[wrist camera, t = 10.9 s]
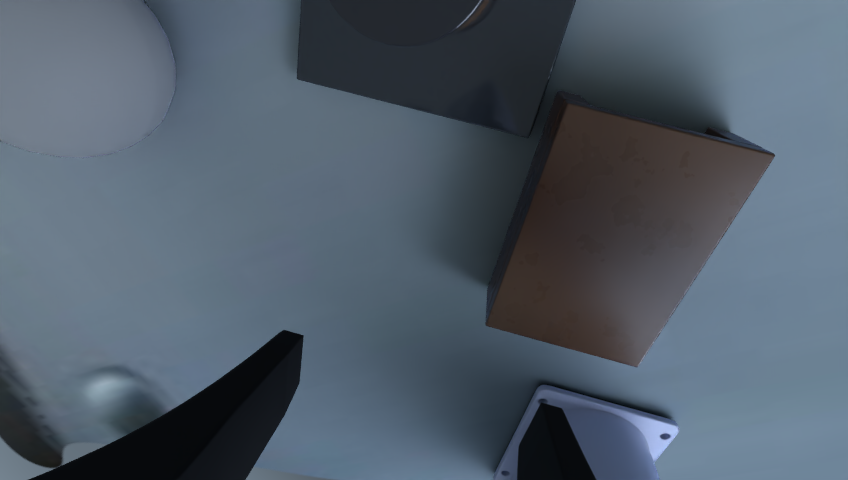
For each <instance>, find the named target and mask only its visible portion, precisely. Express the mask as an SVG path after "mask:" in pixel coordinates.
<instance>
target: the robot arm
mask: <svg viewBox="0 0 848 480" xmlns="http://www.w3.org/2000/svg"><path fill="white" fill-rule="evenodd" d="M303 337H304V335H300V334H297V333H293V332H290V331H286V330H283V331H281V332H280V333H278V334H277V335H276V336H275V337H274V338H272V339H271V340H270V341H269V342H267V343H266V344H265V345H264V346H262V347H261V348H260V349H259V350H257V351H256V352H255V353H254V354H252V355H251V356H250V357H248V358H247V359H246V360H245V361H243V362H242V363H241V364H239V365H238V366H236V367H235V368H234V369H232V370H231V371H230V372H228V373H227V374H226V375H224V376H223V377H221V378H220V379H219V380H217V381H216V382H214V383H213V384H211V385H210V386H208V387H207V388H205V389H204V390H202V391H201V392H199V393H198V394H196V395H195V396H193V397H192V398H190V399H189V400H187V401H186V402H184V403H182V404H181V405H179V406H177V407H176V408H174V409H172V410H171V411H169V412H167V413H166V414H164V415H162V416H161V417H159V418H157V419H155V420H154V421H152V422H150V423H148V424H146V425H144V426H143V427H141V428H139V429H137V430H135V431H133V432H131V433H129V434H128V435H126V436H124V437H122V438H120V439H118V440H116V441H114V442H112V443H110V444H108V445H106V446H104V447H102V448H100V449H97V450H95V451H93V452H91V453H89V454H86V455H84V456H82V457H80V458H78V459H76V460H73V461H71V462H69V463H67V464H65V465H62V466H60V467H58V468H56V469H53V470H51V471H49V472H46V473H44V474H42V475H39V476H36V477H34V478H31V479H29V480H245V479H246V478H247V476H248V475H249V473H250V471H251V470H252V468H253V466H254V465H255V463H256V461H257V460H258V458H259V456H260V455H261V453H262V452H263V450H264V448H265V447H266V445H267V443H268V442H269V440H270V438H271V437H272V435H273V433H274V432H275V430H276V428H277V427H278V425H279V423H280V422H281V420H282V418H283V417H284V415H285V413H286V411H287V409H288V407H289V404H290V402H291V400H292V398H293V396H294V394H295V391H296V389H297V387H298V385H299V382H300V371H301V359H302V348H303ZM541 399H544V400H541ZM678 432H679V427H678V425H677V423H676V422H675V421H673V420H671V419H667V418H664V417H660V416H657V415H653V414H649V413H646V412H642V411H639V410H635V409H632V408H628V407H624V406H621V405H617V404H614V403H610V402H606V401H603V400H599V399H596V398H592V397H589V396H585V395H581V394H578V393H574V392H571V391H567V390H564V389H560V388H556V387H553V386H549V385H541V386H539V387H538V388H537V389H536V391H535V393H534V395H533V397H532V399H531V401H530V403H529V405H528V407H527V409H526V411H525V413H524V415H523V417H522V419H521V421H520V423H519V425H518V427H517V429H516V431H515V433H514V435H513V437H512V439H511V441H510V443H509V445H508V447H507V449H506V451H505V453H504V455H503V457H502V459H501V461H500V463H499V465H498V467H497V469H496V472H495V474H494V478H493V480H660V478H659V475H658V472H657V469H656V467H655V464H654V462H655V461H656V460H657V458H658V457H659V456H660V455H661V453H662V452H663V451H664V450H665V449H666V447H667V446H668V445H669V444H670V442H671V441H672V440H673V439H674V437H675V436H676V435H677V434H678Z"/></svg>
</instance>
